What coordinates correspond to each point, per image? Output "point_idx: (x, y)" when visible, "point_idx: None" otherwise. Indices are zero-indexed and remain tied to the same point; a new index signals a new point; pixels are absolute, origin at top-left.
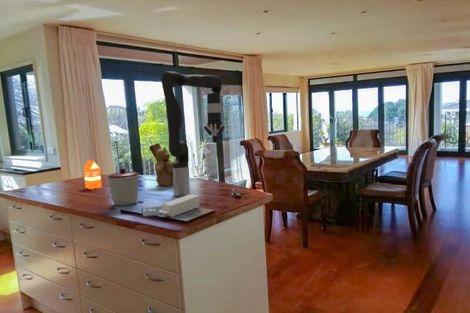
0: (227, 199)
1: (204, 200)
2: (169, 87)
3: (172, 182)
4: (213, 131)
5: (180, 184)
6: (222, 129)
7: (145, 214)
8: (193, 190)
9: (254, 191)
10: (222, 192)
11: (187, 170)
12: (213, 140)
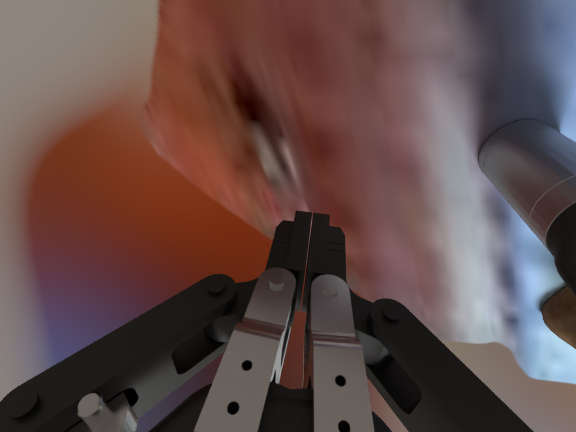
0: (279, 61)
1: (385, 34)
2: None
3: (573, 295)
4: (311, 352)
5: (549, 141)
6: (82, 352)
7: None
8: (467, 213)
9: (220, 192)
10: (336, 180)
11: (537, 210)
12: (325, 230)
